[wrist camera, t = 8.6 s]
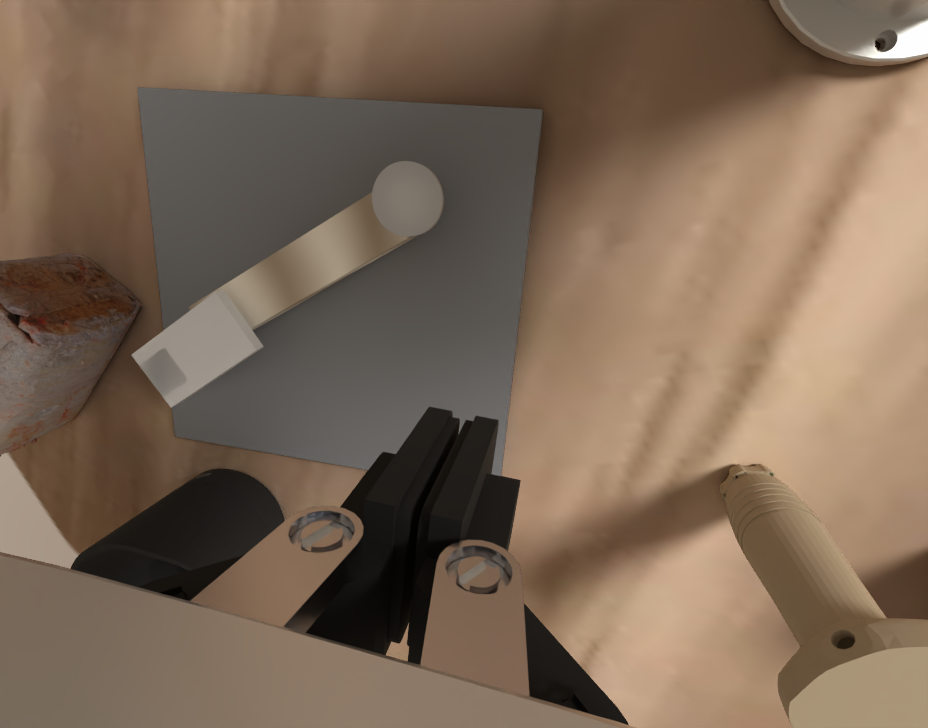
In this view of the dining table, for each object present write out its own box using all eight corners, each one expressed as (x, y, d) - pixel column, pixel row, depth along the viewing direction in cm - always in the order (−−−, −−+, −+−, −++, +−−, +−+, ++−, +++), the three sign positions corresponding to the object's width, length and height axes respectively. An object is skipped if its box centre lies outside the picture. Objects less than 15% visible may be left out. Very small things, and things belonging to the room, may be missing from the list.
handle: (818, 488, 31) (1033, 729, 17) (719, 535, 33) (834, 784, 19) (775, 426, 30) (959, 622, 16) (677, 478, 32) (763, 692, 18)
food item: (83, 434, 41) (-60, 502, 31) (3, 367, 40) (-165, 416, 31) (158, 311, 36) (17, 348, 27) (69, 233, 35) (-106, 244, 26)
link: (390, 188, 29) (379, 187, 27) (416, 236, 29) (407, 238, 28) (207, 301, 33) (188, 307, 32) (232, 342, 34) (215, 349, 32)
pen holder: (296, 478, 38) (207, 568, 28) (289, 579, 41) (207, 691, 31) (182, 448, 39) (60, 526, 30) (184, 549, 42) (74, 647, 33)
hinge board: (150, 90, 31) (80, 71, 27) (543, 112, 28) (538, 94, 23) (184, 431, 38) (133, 461, 34) (500, 484, 35) (490, 526, 30)
